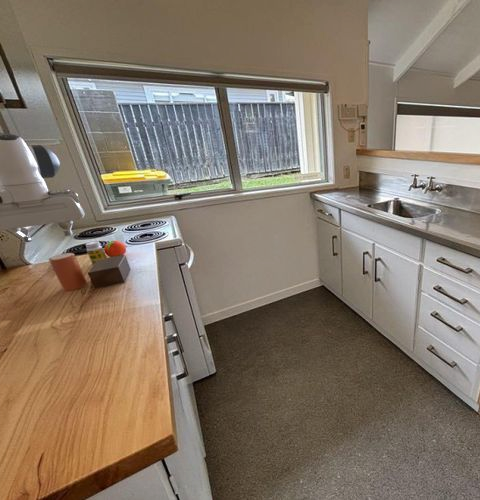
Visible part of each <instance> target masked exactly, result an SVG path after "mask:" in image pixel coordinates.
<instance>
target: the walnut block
mask: <svg viewBox="0 0 480 500" xmlns="http://www.w3.org/2000/svg"><path fill="white" fill-rule="evenodd" d="M130 272H131V266H130V264H129V261H128V258H127V256H126V254H124V255H120V256H115V257H109V256H108V257H106V258H104V259H98V260H97V261H96V262H95V264H94V265H93V264H92V266H91V267H90V269H89V270H88V271H87V275H88V277H89V280H90V282H91V284H92V286H93V288H94V290H98V289H102V288H107V287H111V286H117V285H121V284H125V283H126V280H127V279H128V276H129V274H130Z"/></svg>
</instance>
